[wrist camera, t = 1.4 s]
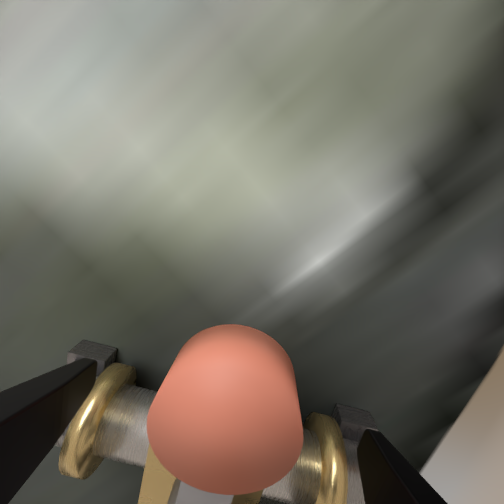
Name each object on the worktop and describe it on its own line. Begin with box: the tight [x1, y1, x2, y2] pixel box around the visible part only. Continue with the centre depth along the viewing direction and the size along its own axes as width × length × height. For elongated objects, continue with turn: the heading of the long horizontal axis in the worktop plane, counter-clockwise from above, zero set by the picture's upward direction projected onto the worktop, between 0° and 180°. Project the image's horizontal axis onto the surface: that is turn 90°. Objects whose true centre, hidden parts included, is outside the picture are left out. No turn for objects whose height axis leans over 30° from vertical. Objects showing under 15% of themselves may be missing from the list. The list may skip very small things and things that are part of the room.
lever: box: [147, 324, 303, 504], centre depth 10 cm, size 12×4×4 cm, turn 166°
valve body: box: [55, 340, 378, 504], centre depth 15 cm, size 20×6×6 cm, turn 76°
